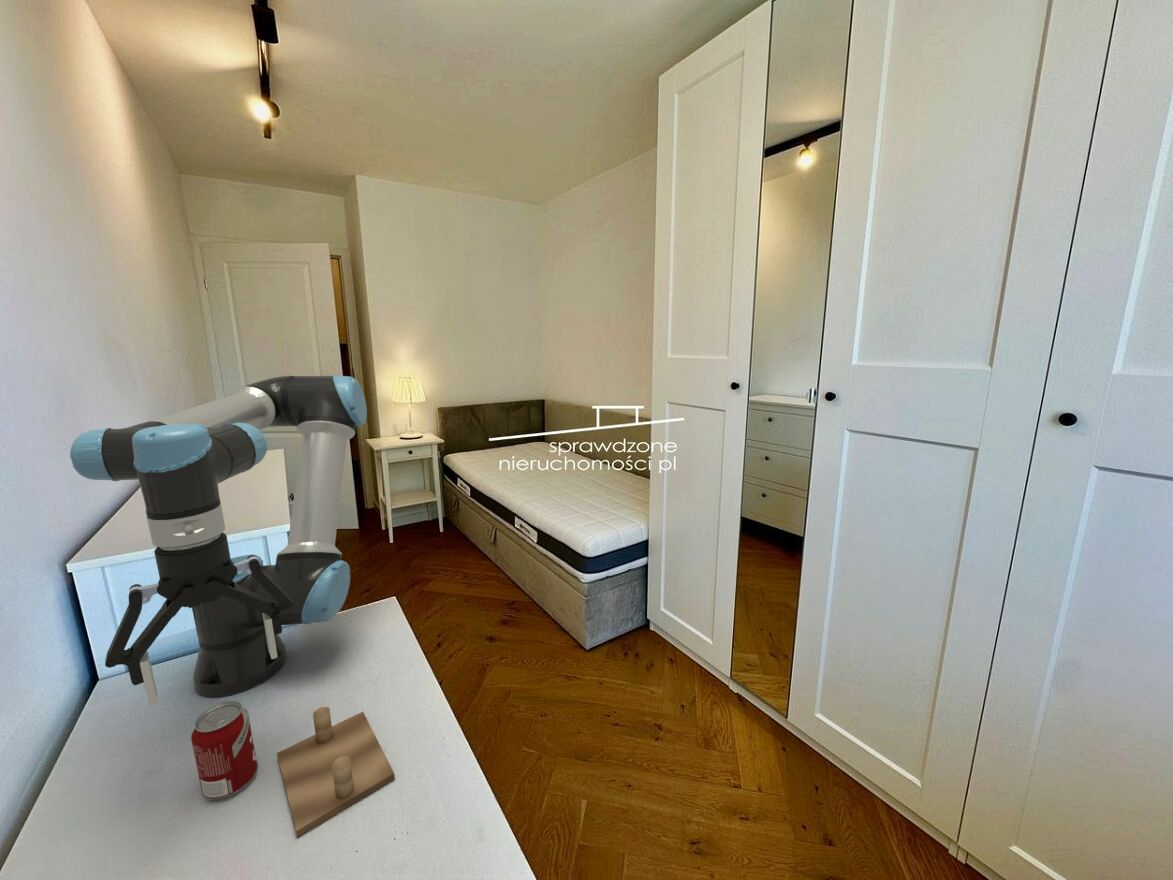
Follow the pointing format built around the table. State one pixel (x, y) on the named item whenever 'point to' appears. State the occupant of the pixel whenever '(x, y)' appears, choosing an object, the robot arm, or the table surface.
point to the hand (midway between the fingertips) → (217, 675)
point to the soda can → (224, 750)
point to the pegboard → (332, 769)
